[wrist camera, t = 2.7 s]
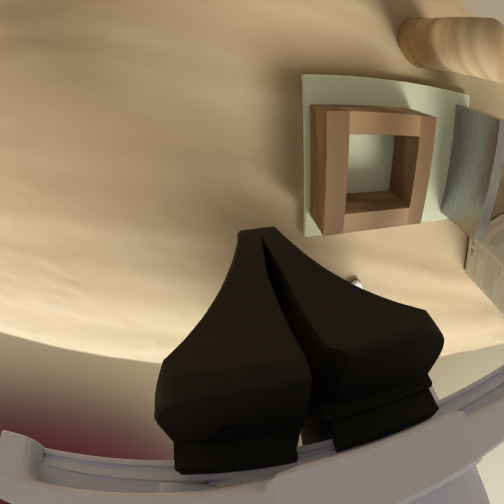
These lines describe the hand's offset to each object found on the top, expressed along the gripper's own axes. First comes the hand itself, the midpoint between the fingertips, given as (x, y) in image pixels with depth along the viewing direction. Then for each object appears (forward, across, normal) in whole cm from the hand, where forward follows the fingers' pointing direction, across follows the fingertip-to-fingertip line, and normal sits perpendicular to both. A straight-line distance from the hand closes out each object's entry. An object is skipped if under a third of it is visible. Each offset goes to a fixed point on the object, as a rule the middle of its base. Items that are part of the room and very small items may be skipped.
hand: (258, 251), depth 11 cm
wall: (+10, -19, 0) cm, 21 cm away
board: (+10, -12, 0) cm, 16 cm away
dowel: (+10, -14, -9) cm, 20 cm away
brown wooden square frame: (+10, -9, 0) cm, 13 cm away
